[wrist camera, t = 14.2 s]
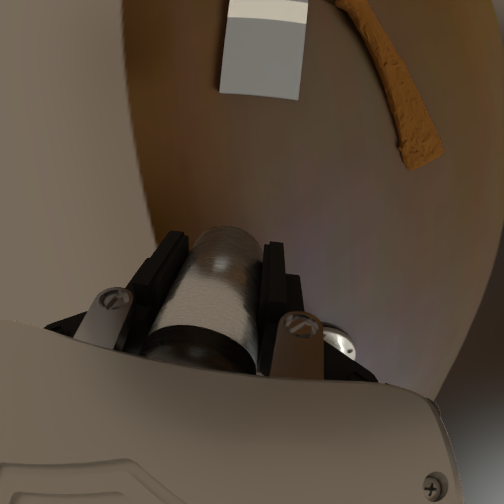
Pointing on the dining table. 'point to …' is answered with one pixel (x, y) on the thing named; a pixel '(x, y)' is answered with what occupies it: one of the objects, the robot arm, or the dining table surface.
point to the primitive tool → (397, 89)
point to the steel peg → (212, 306)
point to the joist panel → (264, 48)
